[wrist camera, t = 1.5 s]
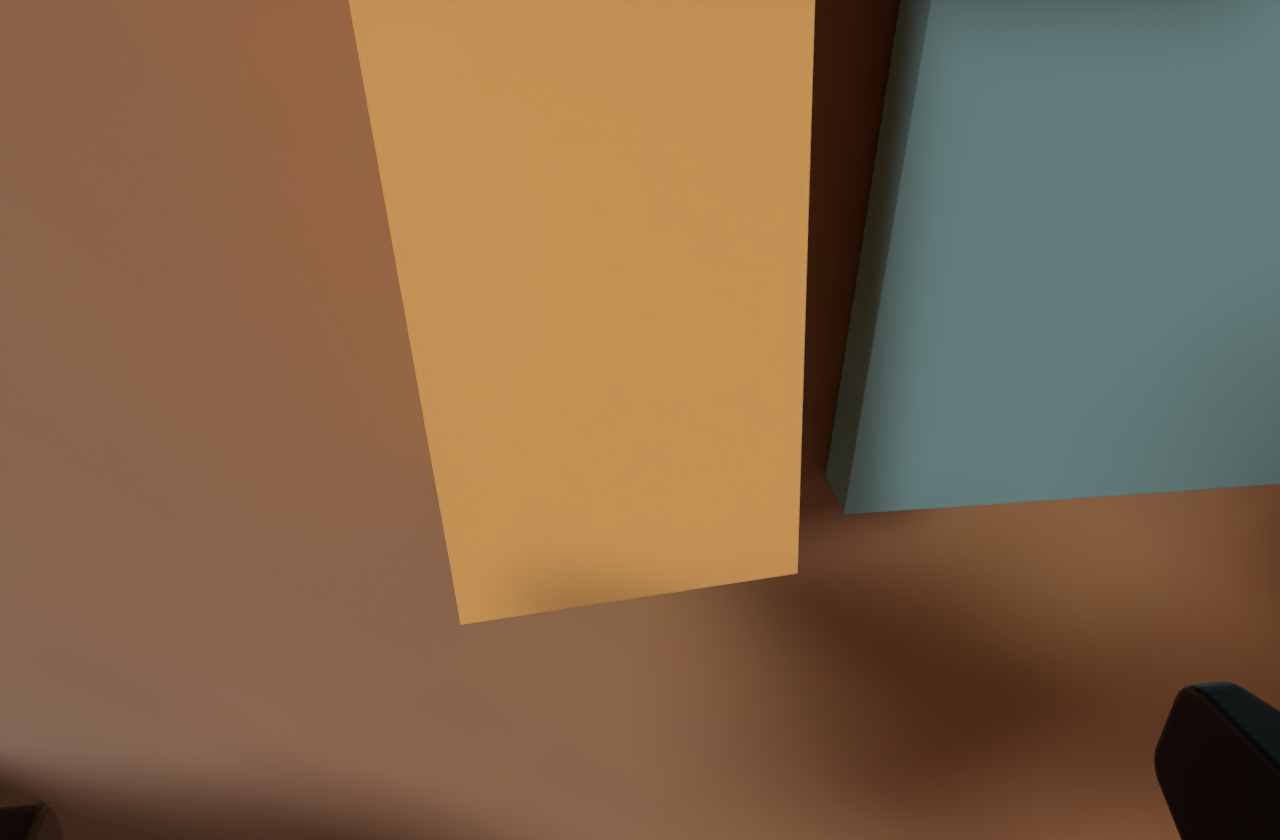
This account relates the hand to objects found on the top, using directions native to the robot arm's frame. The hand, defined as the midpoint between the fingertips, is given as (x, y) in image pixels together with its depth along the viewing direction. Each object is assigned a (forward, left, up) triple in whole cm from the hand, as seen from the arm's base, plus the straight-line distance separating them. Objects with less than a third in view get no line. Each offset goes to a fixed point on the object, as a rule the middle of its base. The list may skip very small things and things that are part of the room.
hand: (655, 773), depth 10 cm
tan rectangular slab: (+4, 0, -9) cm, 10 cm away
